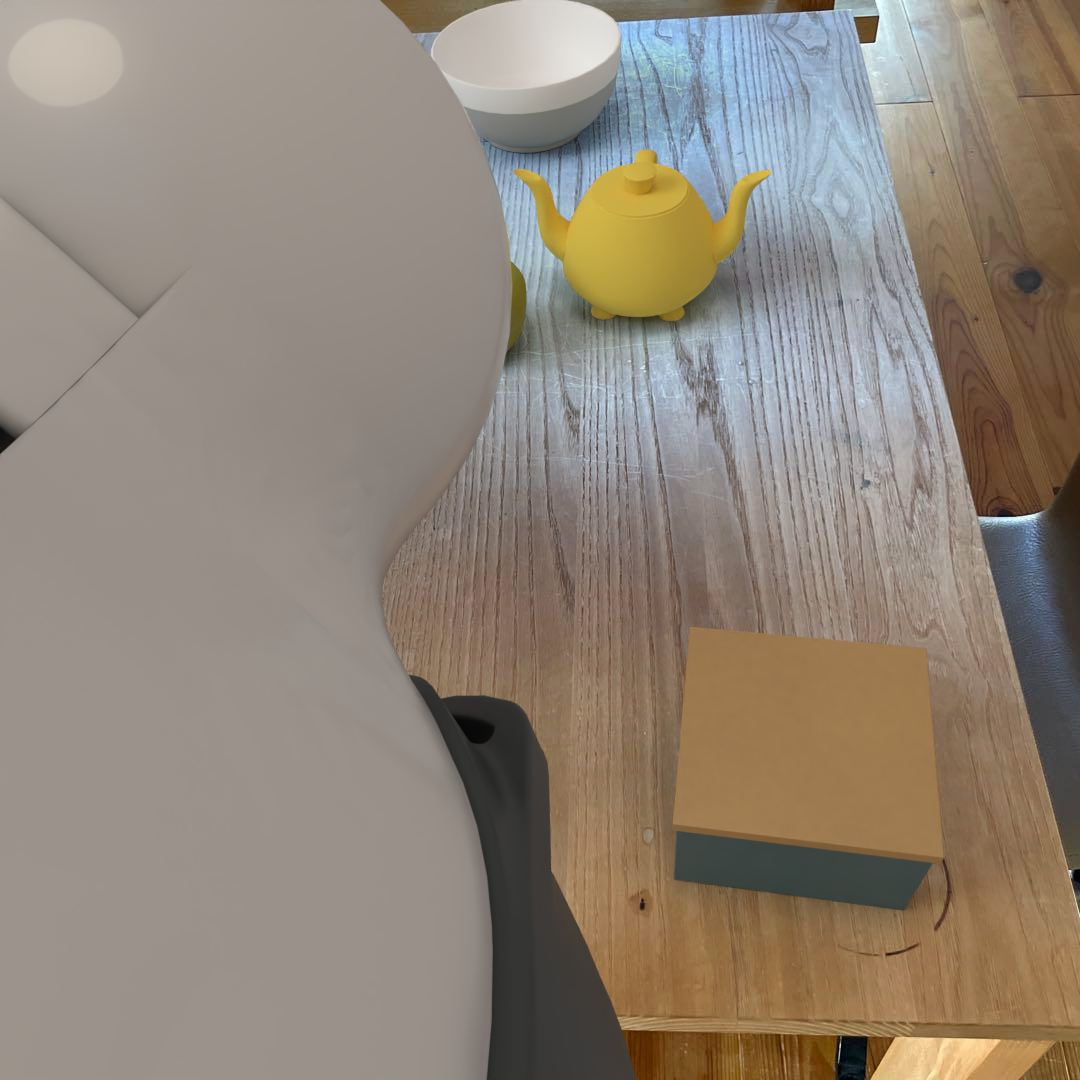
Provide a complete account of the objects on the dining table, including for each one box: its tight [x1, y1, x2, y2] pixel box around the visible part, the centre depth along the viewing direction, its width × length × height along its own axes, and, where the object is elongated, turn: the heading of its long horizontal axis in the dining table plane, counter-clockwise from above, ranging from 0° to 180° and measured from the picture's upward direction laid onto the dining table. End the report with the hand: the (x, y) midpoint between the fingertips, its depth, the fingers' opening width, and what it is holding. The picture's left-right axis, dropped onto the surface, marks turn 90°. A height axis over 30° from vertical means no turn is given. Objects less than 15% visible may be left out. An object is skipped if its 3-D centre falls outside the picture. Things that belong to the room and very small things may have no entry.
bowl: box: [430, 0, 623, 154], centre depth 101 cm, size 19×19×9 cm
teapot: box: [513, 148, 772, 322], centre depth 82 cm, size 20×15×12 cm
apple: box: [506, 261, 527, 353], centre depth 79 cm, size 8×8×10 cm
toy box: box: [671, 626, 945, 911], centre depth 53 cm, size 11×12×8 cm
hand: (188, 368), depth 67 cm, fingers closed
